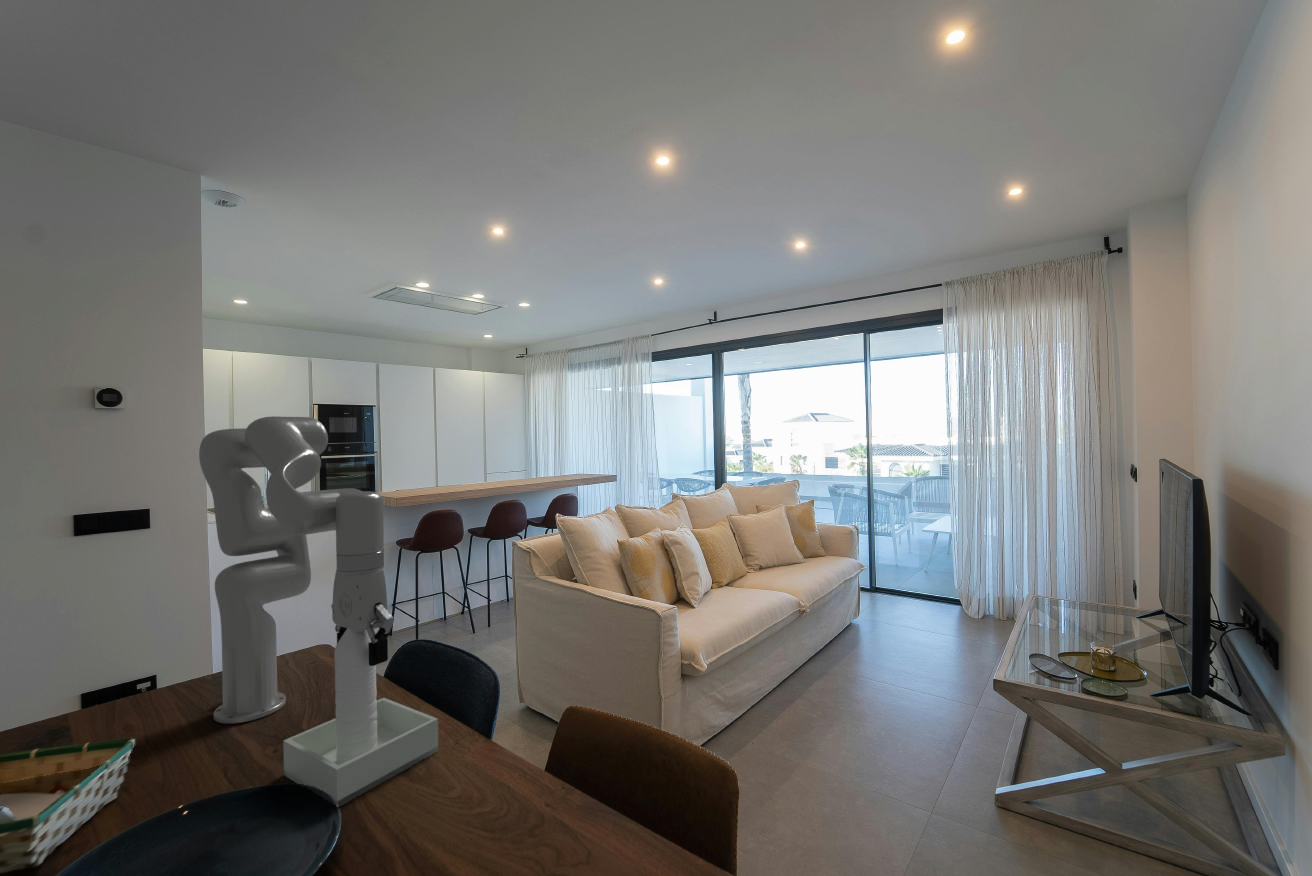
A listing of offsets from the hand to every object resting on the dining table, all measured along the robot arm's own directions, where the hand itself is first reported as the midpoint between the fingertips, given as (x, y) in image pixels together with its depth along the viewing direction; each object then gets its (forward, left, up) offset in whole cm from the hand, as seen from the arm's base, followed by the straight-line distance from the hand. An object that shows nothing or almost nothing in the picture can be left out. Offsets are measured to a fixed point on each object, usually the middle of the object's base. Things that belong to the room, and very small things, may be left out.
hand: (362, 657), depth 102 cm
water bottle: (0, 0, -18) cm, 18 cm away
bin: (0, 0, -19) cm, 19 cm away
